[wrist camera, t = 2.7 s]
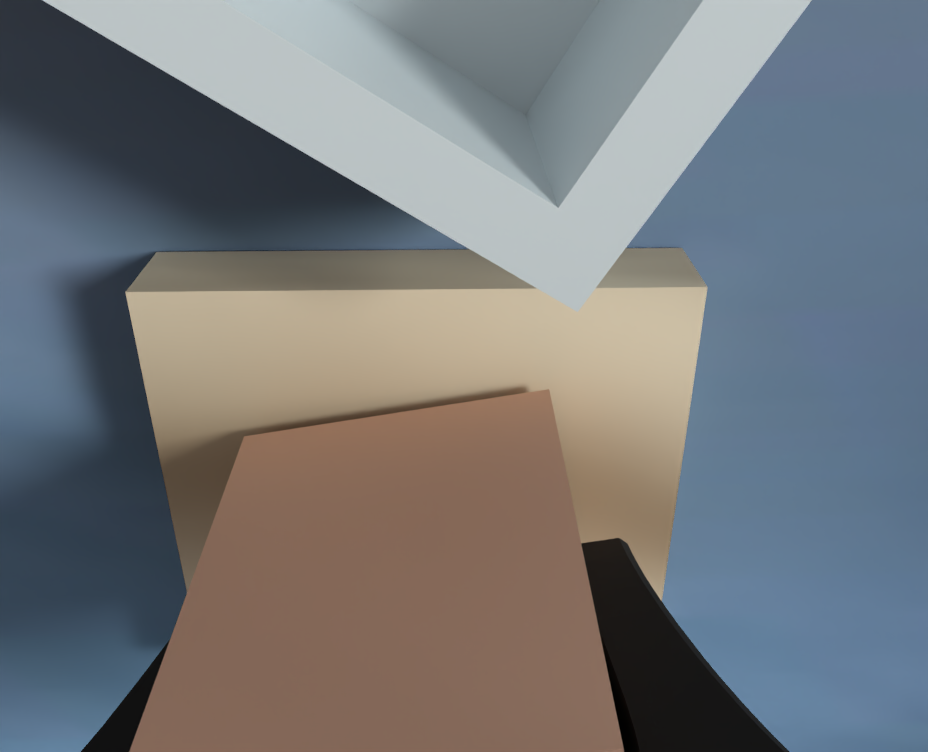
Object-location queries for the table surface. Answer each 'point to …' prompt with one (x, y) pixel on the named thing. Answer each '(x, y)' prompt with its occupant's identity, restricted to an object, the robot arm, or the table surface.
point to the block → (391, 595)
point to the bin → (477, 104)
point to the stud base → (420, 366)
